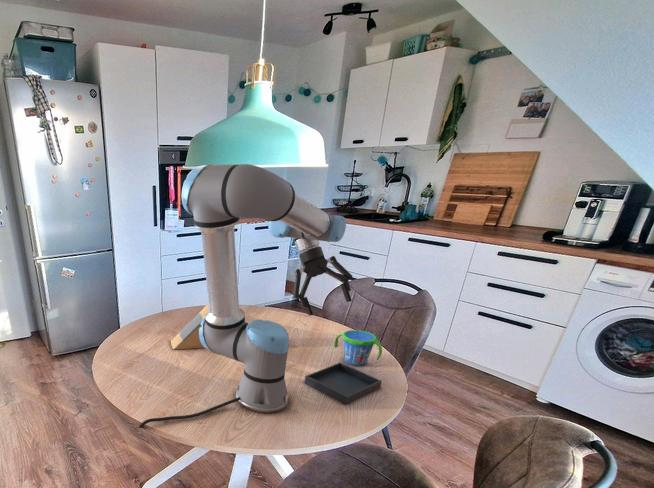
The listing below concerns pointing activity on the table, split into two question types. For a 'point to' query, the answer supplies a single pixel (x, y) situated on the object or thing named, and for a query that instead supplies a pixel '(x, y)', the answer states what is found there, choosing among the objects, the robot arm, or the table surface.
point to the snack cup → (358, 346)
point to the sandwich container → (190, 333)
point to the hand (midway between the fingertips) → (330, 308)
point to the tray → (343, 382)
